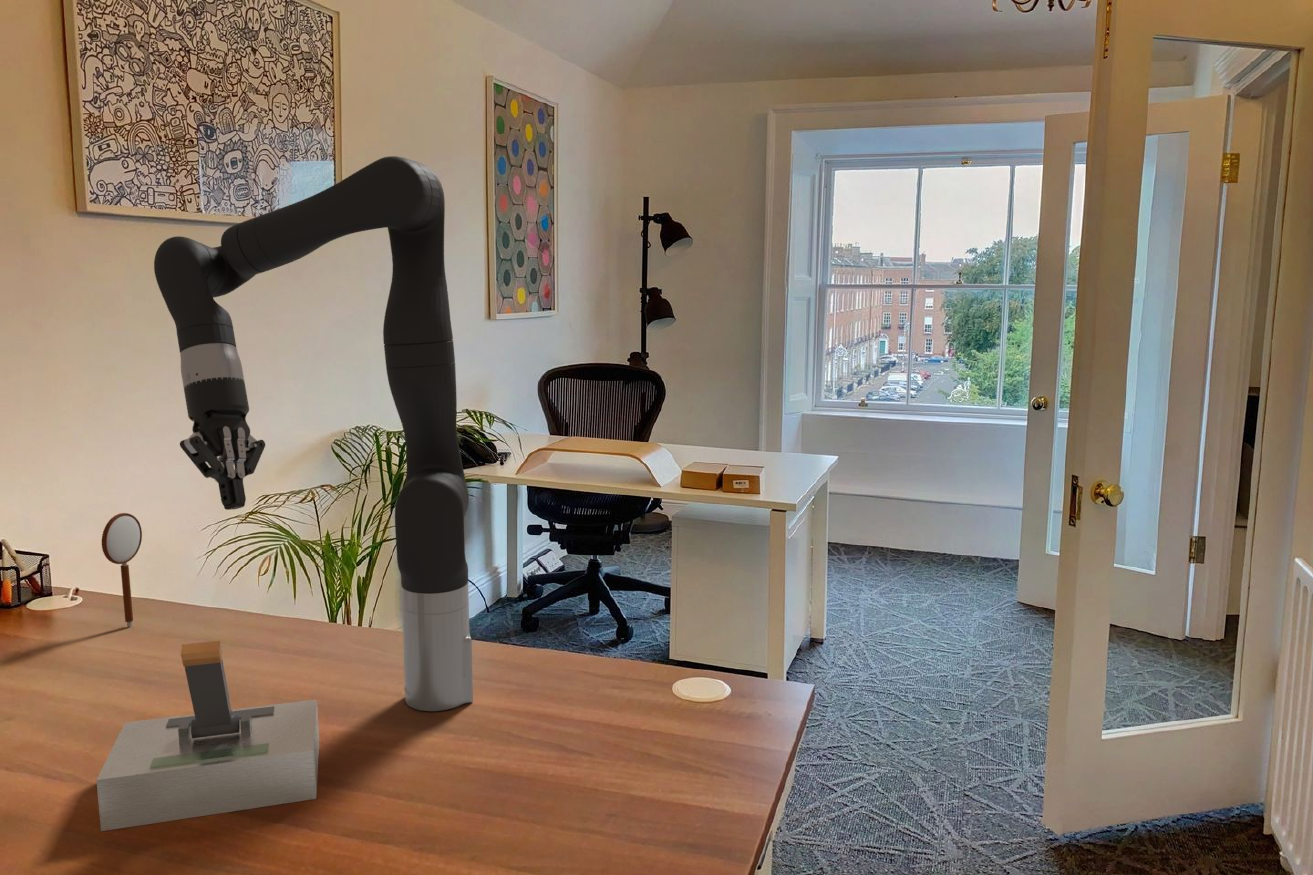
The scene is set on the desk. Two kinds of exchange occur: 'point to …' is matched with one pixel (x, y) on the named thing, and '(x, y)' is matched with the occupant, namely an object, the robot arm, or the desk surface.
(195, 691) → the breaker lever
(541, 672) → the desk surface
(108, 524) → the magnifying glass
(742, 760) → the desk surface
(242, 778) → the breaker box
